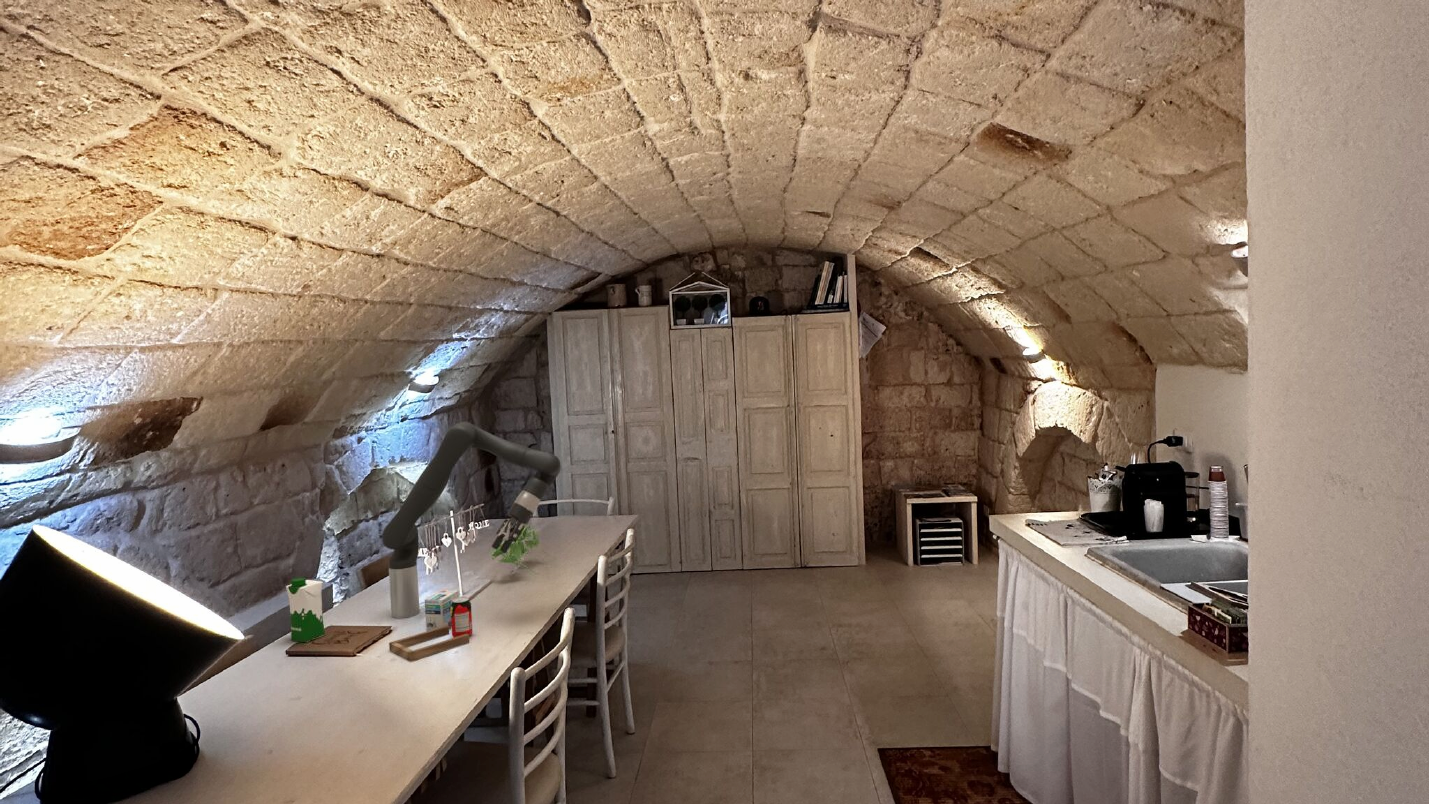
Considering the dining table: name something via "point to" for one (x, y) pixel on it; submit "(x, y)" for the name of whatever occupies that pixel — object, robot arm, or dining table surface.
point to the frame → (412, 655)
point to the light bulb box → (439, 609)
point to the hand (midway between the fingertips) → (498, 550)
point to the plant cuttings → (519, 549)
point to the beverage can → (461, 616)
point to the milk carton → (305, 609)
